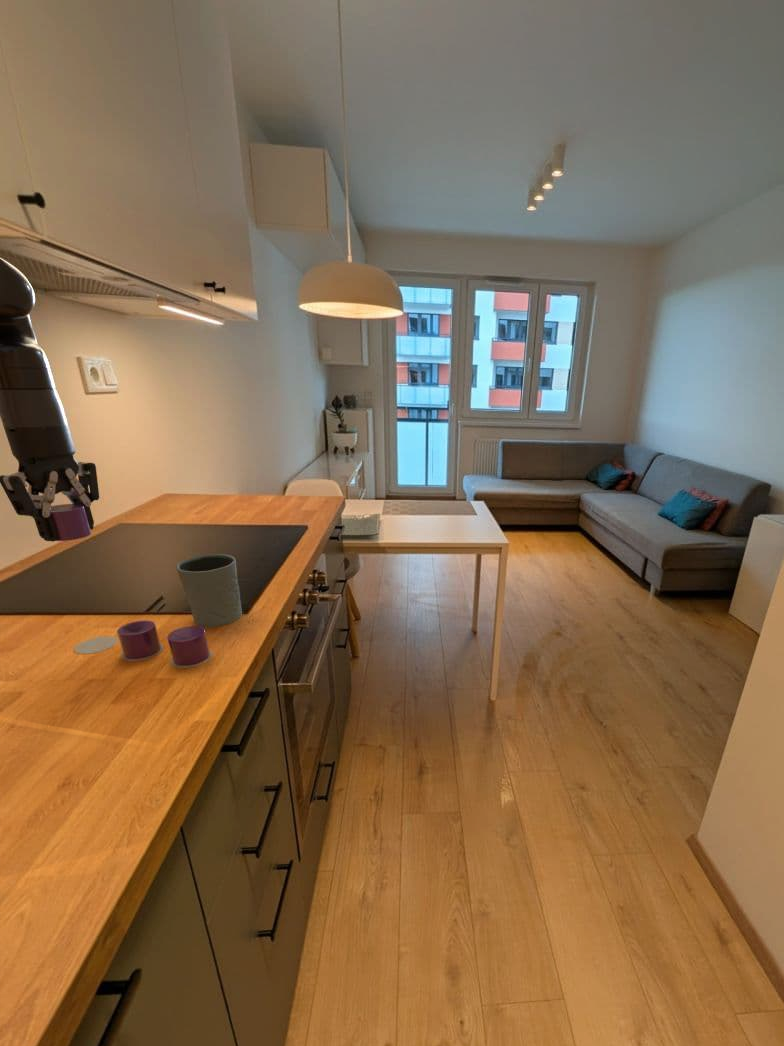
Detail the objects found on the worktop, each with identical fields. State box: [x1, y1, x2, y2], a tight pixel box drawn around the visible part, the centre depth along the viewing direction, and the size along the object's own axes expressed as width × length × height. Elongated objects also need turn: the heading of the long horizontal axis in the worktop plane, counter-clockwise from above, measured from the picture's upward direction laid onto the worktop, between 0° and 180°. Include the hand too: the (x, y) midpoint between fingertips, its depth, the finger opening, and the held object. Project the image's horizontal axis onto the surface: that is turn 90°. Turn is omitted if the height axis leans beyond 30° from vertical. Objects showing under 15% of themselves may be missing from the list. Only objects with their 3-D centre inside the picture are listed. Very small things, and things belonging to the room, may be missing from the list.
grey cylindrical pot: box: [176, 553, 243, 628], centre depth 97 cm, size 10×10×12 cm
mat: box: [73, 635, 213, 669], centre depth 87 cm, size 26×12×1 cm, turn 78°
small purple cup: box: [116, 619, 161, 659], centre depth 86 cm, size 6×6×4 cm
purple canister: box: [166, 625, 210, 666], centre depth 84 cm, size 6×6×4 cm
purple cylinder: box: [49, 503, 92, 542], centre depth 79 cm, size 6×6×4 cm
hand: (69, 534), depth 80 cm, fingers closed on purple cylinder, 5 cm apart
